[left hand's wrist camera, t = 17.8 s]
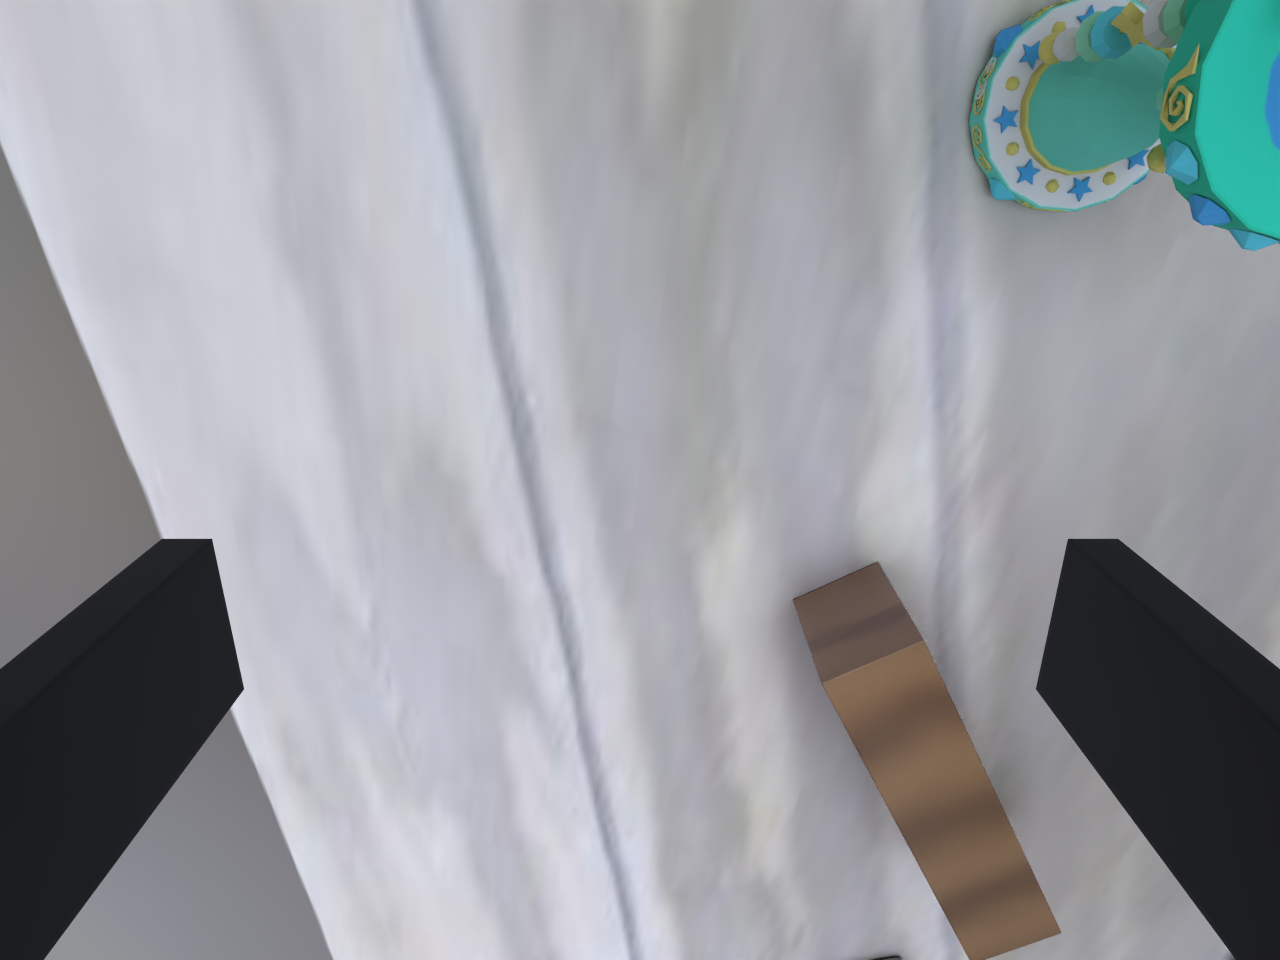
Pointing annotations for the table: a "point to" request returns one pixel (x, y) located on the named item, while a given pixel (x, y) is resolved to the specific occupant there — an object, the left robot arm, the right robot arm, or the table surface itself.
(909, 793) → the box
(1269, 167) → the decorative hourglass
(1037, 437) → the table surface
